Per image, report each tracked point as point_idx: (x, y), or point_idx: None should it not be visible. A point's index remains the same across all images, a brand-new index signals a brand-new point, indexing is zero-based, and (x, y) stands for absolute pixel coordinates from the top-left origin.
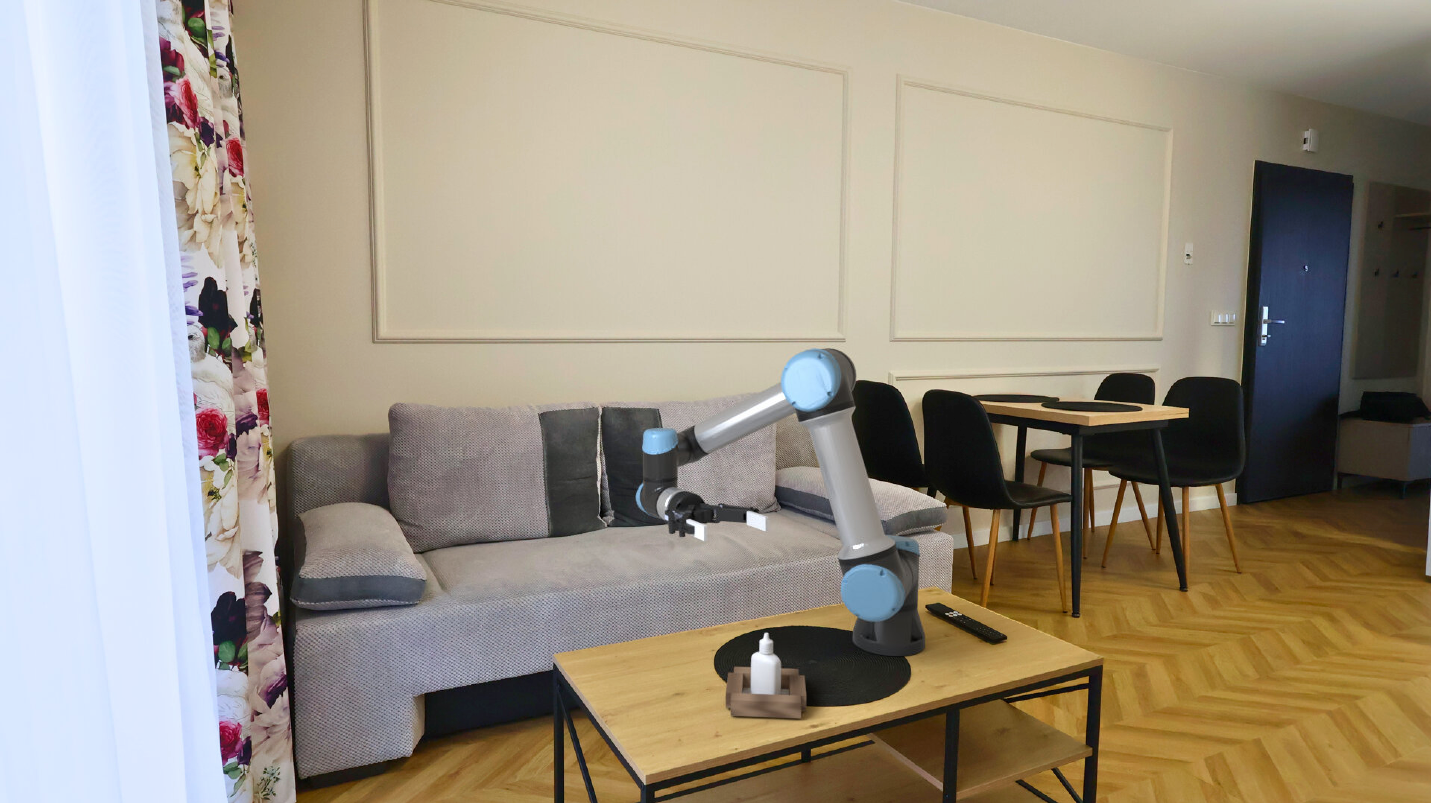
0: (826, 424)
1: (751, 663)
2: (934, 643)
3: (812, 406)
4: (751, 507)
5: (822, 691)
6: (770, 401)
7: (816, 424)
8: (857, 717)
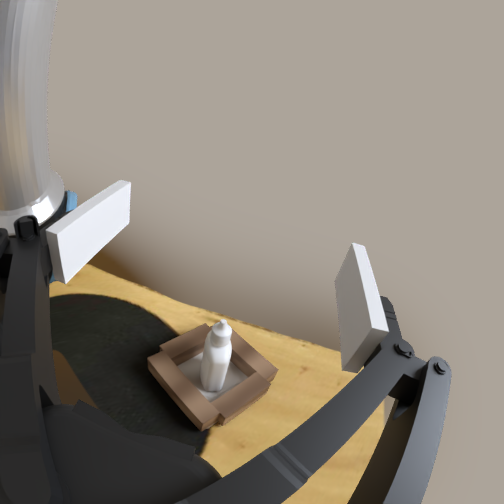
0: None
1: (226, 367)
2: None
3: None
4: (35, 216)
5: (144, 345)
6: None
7: None
8: (175, 303)
